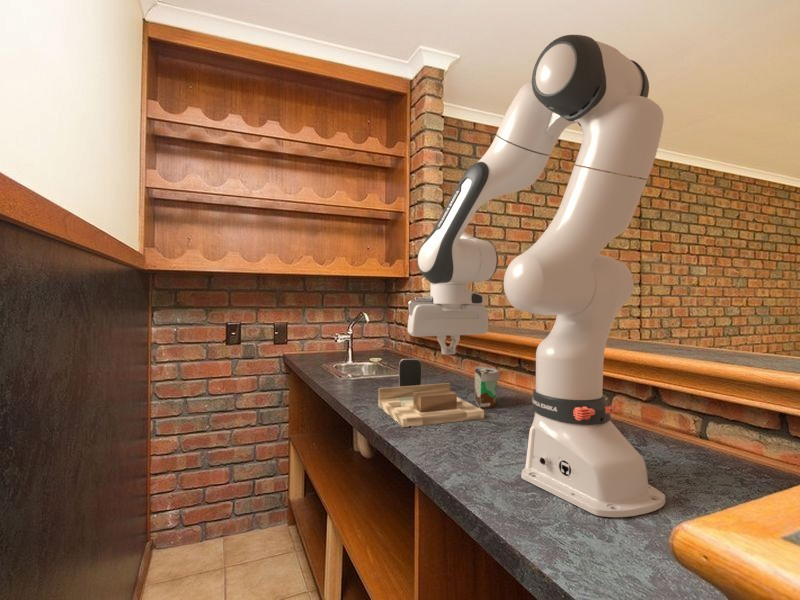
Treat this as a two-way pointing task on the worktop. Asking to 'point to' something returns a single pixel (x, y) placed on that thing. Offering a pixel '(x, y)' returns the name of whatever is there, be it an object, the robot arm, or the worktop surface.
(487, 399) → the food container
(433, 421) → the wooden frame
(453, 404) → the block
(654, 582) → the worktop surface
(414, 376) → the battery charger
